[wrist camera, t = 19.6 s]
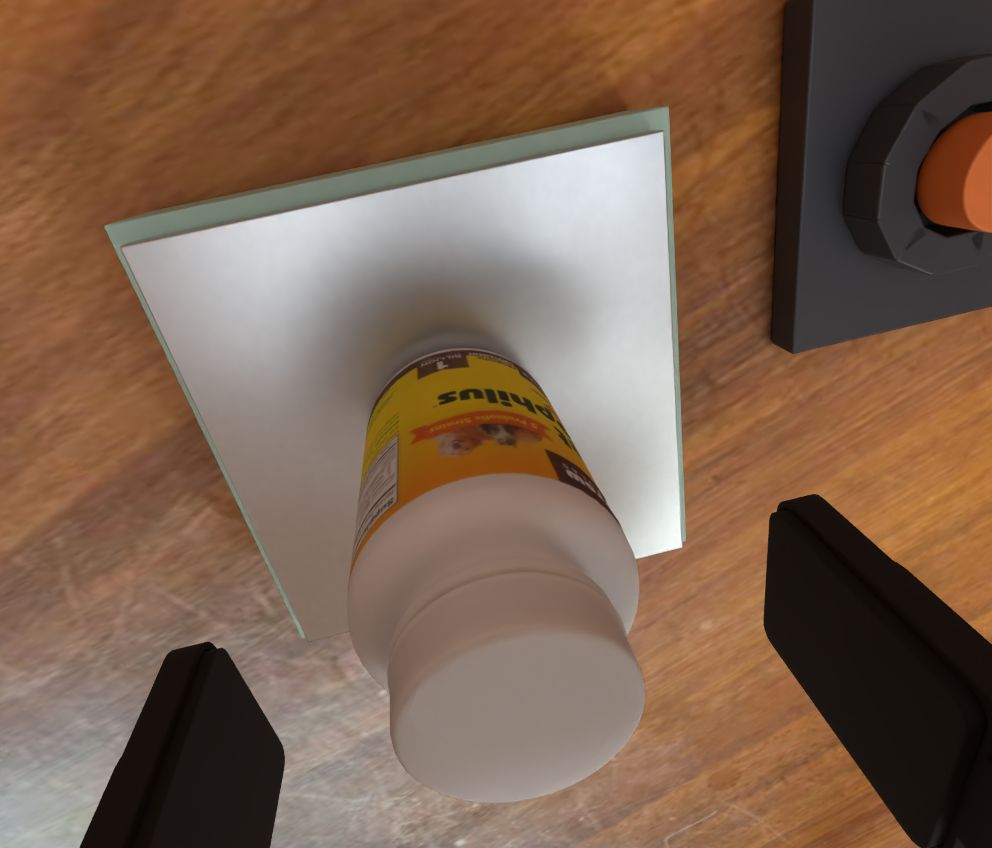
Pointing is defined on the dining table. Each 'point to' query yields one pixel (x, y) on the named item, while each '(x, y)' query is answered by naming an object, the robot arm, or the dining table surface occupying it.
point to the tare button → (959, 175)
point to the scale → (423, 323)
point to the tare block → (873, 167)
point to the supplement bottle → (490, 585)
